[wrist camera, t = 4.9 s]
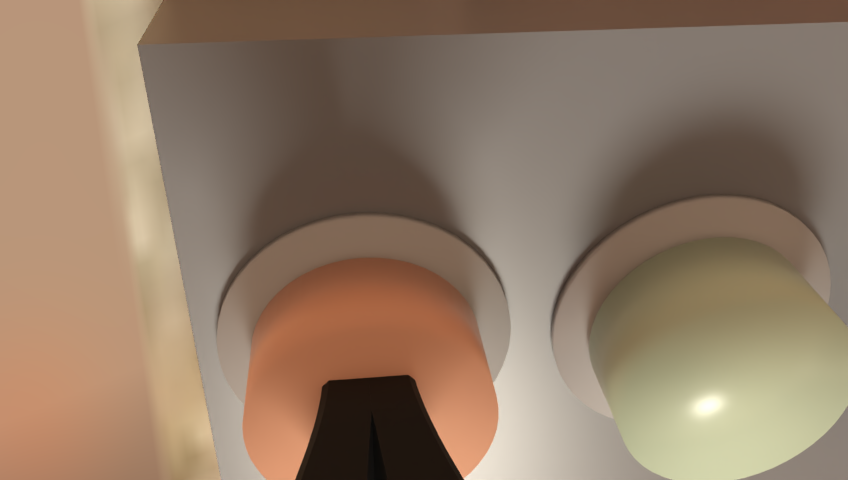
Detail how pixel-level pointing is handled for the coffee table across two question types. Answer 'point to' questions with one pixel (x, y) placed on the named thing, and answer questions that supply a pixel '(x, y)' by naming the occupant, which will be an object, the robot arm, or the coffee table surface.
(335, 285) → the terracotta button
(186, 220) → the console
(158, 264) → the coffee table surface
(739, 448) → the sage button
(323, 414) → the robot arm
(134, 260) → the coffee table surface
